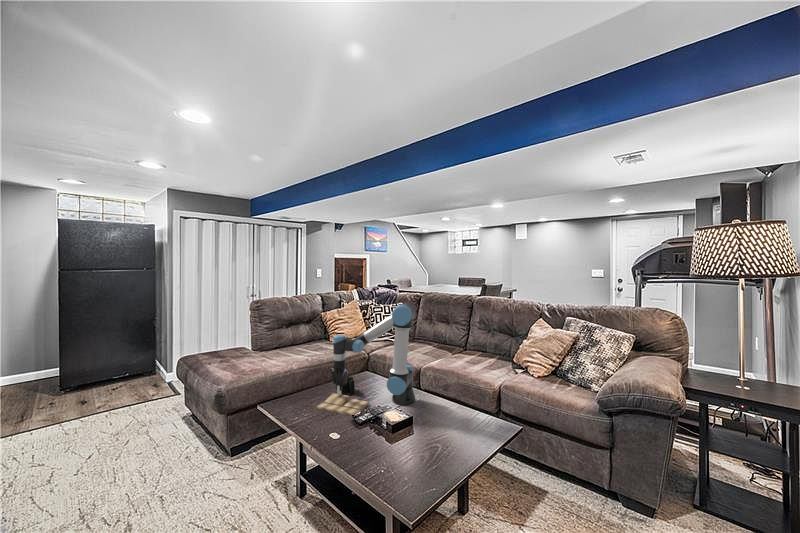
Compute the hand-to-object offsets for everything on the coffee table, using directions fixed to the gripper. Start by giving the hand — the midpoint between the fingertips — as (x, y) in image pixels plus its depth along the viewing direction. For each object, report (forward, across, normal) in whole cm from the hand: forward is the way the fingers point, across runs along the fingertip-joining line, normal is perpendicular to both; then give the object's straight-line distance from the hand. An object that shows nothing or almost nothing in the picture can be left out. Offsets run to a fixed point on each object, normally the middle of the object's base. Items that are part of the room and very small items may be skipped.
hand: (339, 394), depth 217 cm
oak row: (+3, -7, +12) cm, 15 cm away
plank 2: (+3, -14, +3) cm, 15 cm away
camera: (+5, +4, -14) cm, 16 cm away
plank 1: (+2, 0, +3) cm, 4 cm away
